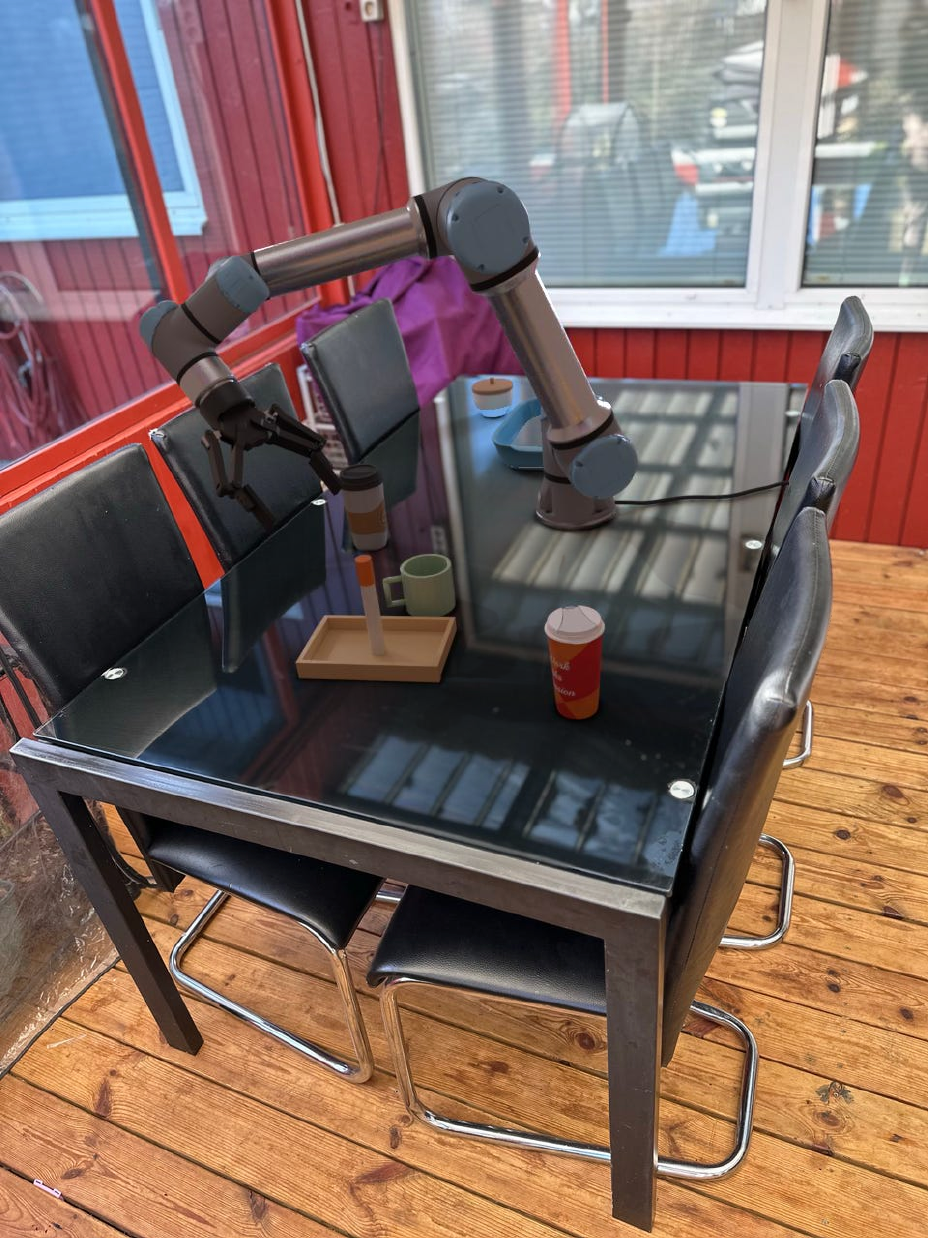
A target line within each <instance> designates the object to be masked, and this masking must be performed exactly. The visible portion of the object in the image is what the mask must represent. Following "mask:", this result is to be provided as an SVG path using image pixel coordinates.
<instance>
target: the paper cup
mask: <svg viewBox="0 0 928 1238" xmlns="http://www.w3.org/2000/svg"><path fill="white" fill-rule="evenodd" d="M605 630H606V625H605V622H604V620H603V619H602V616H601V614H600V613H599V612H598V611H597V610H596V609H595V608H592V607H589V606H586V605H577V606H574V605H573V606H565V608H562V607H559V608H557V609H555V610H553V611H552V612H551V613H550V614H549V615H548V617H547V621H546V623H545V625H544V632H545V634H546V635H547V640H548V641H547V643H548V650H549V657H550V666H551V674H552V675H551V676H552V682H553V690H554V691H553V692H554V699H555V704H556V709H557V711H558V713H559V714H560V715H562V716H563V717H565V718H566V719H571V720H582V719H588V718H591V717H592V716H593V715H595V714H596V713H597V711H598V709H599V700H600V686H601V685H600V684H601V668H602V665H601V664H602V648H603V647H602V646H603V645H602V643H603V634H604V632H605Z"/></svg>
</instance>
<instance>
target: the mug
mask: <svg viewBox="0 0 928 1238" xmlns="http://www.w3.org/2000/svg"><path fill="white" fill-rule="evenodd" d="M399 570H400V575H395V576H389V577H384V578H383V579H382V586H383V587H382V588H383V592H384V600H385V605H386V607H387V608H389V609H390V608H396V607H402V606H405V611H406V612H407V614H408V615H409V616H411V617H444V616H445V615H447V614H449V613H450V612H451V611H453V610H454V608H455V607H456V603H457V601H456V593H455V583H454V576H453V575H454V574H453V568H452V561H451V560H450V559H449V558H448V557H447V556H445V555H443V554H436V553H426V554H419V555H415V556H412V557H410V558H408V559H406V560H405V561H404V562H403V563H401V564H400V567H399ZM394 583H395V584H396V583H401V586H402V591H403V592H402V593H403V598H402V599H395V600H393V598H392V592H391V586H390V584H394Z"/></svg>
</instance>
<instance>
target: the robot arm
mask: <svg viewBox="0 0 928 1238" xmlns="http://www.w3.org/2000/svg"><path fill="white" fill-rule="evenodd" d="M448 256H453V258H454V259H455V261H456V263H457V265H458V267H459V269H460V271H461V273H462V275H463V277H464V278H465V281H466V283H467V285H468V287H469V289H470V290H471V292H472V294H476V295H478V296H482V297H484V298H486V300H487V302H488V303H489V306H490V308H491V309H492V312H493V314H494V316H495V318H496V319H497V322H498V323H499V326H500V327H501V329H502V331H503V333H504V336H505V337H506V339H507V341H508V343H509V345H510V347H511V349H512V350H513V353H514V355H515V357H516V359H517V361H518V363H519V365H520V367H521V370H522V371H523V373H524V375H525V377H526V379H527V381H528V382H529V385H530V386H531V388H532V390H533V392H534V395H535V397H537V399H538V400H539V402H540V404H541V417H540V421H541V432H542V451H543V468H544V471H543V480H542V484H541V487H540V490H539V491H538V494H537V501H536V506H535V513H536V519H537V521H538V522H540V523H541V524H542V525H544V526H545V527H549V528H552V529H556V530H564V531H580V530H581V531H582V530H589V529H593V528H597V527H600V526H603V525H605V524H607V523H608V522H610V521H611V520H612V519H614V517H615V515H616V506H617V505H618V506H619V505H621V506H622V505H623V506H624V505H628V506H632V505H633V506H648V505H649V506H650V505H658V504H665V503H670V502H675V501H686V500H688V501H689V500H726V499H735V498H739V497H743V496H746V495H751V494H753V493H757V492H762V491H767V490H768V491H769V490H771V489H774V488H778V487H781V486H789V480H782V481H781V480H780V481H777V482H773V483H771V484H768V485H762V486H757V487H753V488H750V489H746V490H742V491H738V492H734V493H728V494H690V495H689V494H687V495H686V494H685V495H677V496H669V497H664V498H658V499H651V500H623V499H621V500H615V498H614V496H617V495H618V494H620V493H621V492H623V491H625V489H626V488H627V487H628V486H629V485H630V484H631V483H632V481H633V479H634V477H635V475H636V473H637V470H638V466H639V465H638V464H639V458H638V452H637V450H636V448H635V445H634V444H633V442H631V440H630V439H629V438H627V437H626V436H625V435H624V433H623V431H622V429H621V428H622V427H620V424H619V422H618V420H617V418H616V416H615V413H614V411H613V410H612V407H611V405H610V403H609V402H607V401H606V402H604V401H605V399H604V397H602V395H598V394H595V392H594V390H593V388H592V385H591V384H590V382H589V380H588V378H587V375H586V374H585V371H584V369H583V367H582V364H581V363H580V360H579V358H578V356H577V353H576V352H575V350H574V347H573V345H572V342H571V341H570V339H569V336H568V335H567V332H566V330H565V328H564V326H563V323H562V322H561V319H560V318H559V315H558V313H557V310H556V309H555V307H554V304H553V303H552V300H551V298H550V296H549V293H548V292H547V290H546V287H545V286H544V283H543V281H542V278H541V276H540V274H539V272H538V270H537V267H538V263H539V260H540V257H541V253H540V249H539V248H538V245H537V243H536V241H535V238H534V236H533V235H532V232H531V221H530V217H529V212H528V210H527V208H526V206H525V204H524V202H523V200H522V199H521V198H520V196H519V195H518V194H517V193H516V192H515V191H513V190H512V189H511V188H510V187H508V186H507V185H505V184H503V183H501V182H498V181H495V180H488V179H486V178H482V177H479V176H466V177H461V178H457V179H455V180H453V181H450V182H447V183H446V184H444V185H442V186H439V187H436V188H434V189H431V190H428V191H426V192H423V193H420V194H416V195H413V196H410V197H409V199H408V201H407V203H406V205H405V206H401V207H398V208H395V209H391V210H387V211H383V212H381V213H378V214H374V215H371V216H367V217H364V218H361V219H357V220H354V221H351V222H348V223H344V224H340V225H337V226H334V227H330V228H327V229H323V230H320V231H317V232H313V233H310V234H306V235H303V236H300V237H297V238H293V239H289V240H286V241H283V242H280V243H276V244H273V245H270V246H266V247H262V248H259V249H255V250H254V251H250V252H246V253H243V254H239V255H226V256H222V257H220V258H217V260H215V261H214V262H213V263H211V264H210V266H209V268H208V270H207V272H206V276H205V279H204V282H202V284H201V285H200V286H199V287H198V288H197V289H196V290H195V291H194V292H193V293H192V294H191V295H190V296H189V297H188V298H186V300H184V301H183V302H182V303H181V304H179V303H177V302H175V301H174V300H163V301H159V302H157V303H156V304H155V305H154V306H151V307H149V308H148V309H147V310H146V311H145V312H144V314H143V315H142V316H141V317H140V320H139V322H138V333H139V336H140V337H141V339H142V340H143V342H144V343H145V344H146V346H147V348H148V349H149V350H150V352H151V355H152V356H153V357H154V358H155V359H156V360H158V362H159V364H161V366H162V367H163V368H164V370H165V371H166V372H167V373H168V374H169V376H170V377H171V378H172V379H173V380H174V382H175V383H176V385H177V386H178V387H179V388H180V390H181V391H182V392H183V394H184V395H185V396H186V397H187V398H188V400H189V401H190V403H192V405H193V406H194V407H195V409H197V410H199V414H200V415H201V417H202V418H203V419H204V421H205V422H206V423H207V424H208V426H209V427H210V428H211V429H212V430H211V429H208V428H207V429H206V430H205V431H204V433H203V435H202V437H201V440H200V445H201V446H202V447H203V449H204V451H205V452H206V454H207V458H208V463H209V467H210V472H211V477H212V480H213V486H214V489H215V493H216V494H215V495H216V496H217V498H224V497H225V496H227V498H228V499H230V500H236V501H237V503H238V504H239V505H240V507H241V508H242V509H243V510H244V511H245V512H246V513H247V514H249V513H252V515H253V516H254V517H255V518H256V520H257V522H259V524H260V525H261V526H262V527H263V530H265V531H266V532H268V531H269V530H271V529H272V527H273V526H274V524H275V522H276V521H277V518H276V517H275V516H274V514H273V513H272V511H270V510H269V508H268V507H267V505H266V504H265V503H264V501H263V500H262V499H261V498H260V496H259V495H258V494H257V493H256V492H255V490H254V489H253V488H252V486H251V485H250V484H249V483H247V484H245V485H243V475H244V474H243V473H244V454H245V452H247V453H248V452H249V451H252V450H253V449H255V448H259V447H261V446H263V445H265V444H266V445H268V446H272V445H274V446H276V447H279V448H281V449H284V450H287V451H289V452H292V453H294V454H296V455H299V456H302V457H305V458H307V459H309V461H308V462H307V463H308V465H309V466H310V468H311V469H312V470H313V471H314V473H315V474H316V475H317V477H319V479H320V481H321V482H322V483H323V484H324V486H325V487H326V488H327V490H329V491H330V493H331V494H332V495H333V496H334V497H335V496H337V495H339V493H341V489H342V487H343V486H344V484H343V483H342V481H341V480H340V479H339V476H338V475H337V474H336V472H335V471H334V470H333V469H334V466H333V463H332V462H331V461H330V460H329V458H328V457H327V456H326V455H325V453H324V452H323V450H324V448H325V446H326V444H327V443H328V440H327V438H326V437H324V436H323V435H321V434H319V433H318V432H316V431H315V430H313V429H311V428H310V427H309V426H307V425H305V424H304V423H302V422H301V421H299V420H298V419H295V418H294V417H293V416H291V415H289V414H287V413H286V412H285V411H284V410H283V409H282V408H281V406H280V405H278V403H274V402H273V403H271V404H270V407H269V408H268V409H266V410H264V411H262V410H260V409H259V408H258V407H257V405H256V403H255V401H254V398H253V397H252V395H251V394H250V393H249V391H248V390H247V389H246V388H245V387H244V385H243V384H242V383H241V382H239V381H238V377H237V376H236V374H234V372H233V371H232V370H231V369H230V367H229V366H228V364H226V362H225V361H224V360H223V358H222V357H220V355H219V354H218V353H217V351H216V348H217V347H219V345H222V343H223V342H224V340H226V339H227V338H228V337H229V336H230V335H231V334H232V333H233V332H234V331H235V330H237V328H239V326H241V325H242V324H243V323H244V322H245V321H247V319H249V317H251V315H253V314H254V313H255V314H256V313H257V312H258V311H259V309H260V307H261V306H262V305H263V303H264V302H267V301H270V300H273V299H276V298H280V297H284V296H287V295H290V294H293V293H297V292H301V291H304V290H307V289H310V288H314V287H317V286H321V285H324V284H327V283H331V282H335V281H338V280H341V279H344V278H348V277H352V276H354V275H358V274H362V273H365V272H369V271H372V270H374V269H375V270H376V269H380V268H382V267H385V266H389V265H392V264H393V265H394V264H396V263H399V262H403V261H406V260H410V259H413V258H416V257H421V258H422V259H424V260H426V261H431V260H433V259H436V258H441V257H448ZM269 433H270V434H269ZM221 442H223V443H225V444H227V445H229V446H230V451H229V457H230V465H229V477H228V473H227V469H226V464H225V460H224V456H223V451H222V447H221V444H220V443H221Z"/></svg>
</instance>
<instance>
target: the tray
mask: <svg viewBox="0 0 928 1238" xmlns="http://www.w3.org/2000/svg"><path fill="white" fill-rule="evenodd" d="M380 617H381V623H382V629H383V635H384V641H385V647H386V652H385V653H384V654H382V655H373V654H372V651H371V646H370V640H369V634H368V629H367V623H366V617H365V615H341V614H339V615H334V614H333V615H331V614H330V615H329V614H328V615H327V614H326V615H324V614H323V617H322V618H321V620H320V621H319V623H318V625H317V626H316V628H315V630H314V631H313V633H312V635H311V636H310V637H309V640H308V641H307V643H306V645H305V646H304V648H303V650H302V651H301V653H300V655H299V656H298V657H297V659H296V660H295V667H296V671H297V675H298V679H315V680H316V679H319V680H348V681H349V680H351V681H381V682H382V681H383V682H386V681H387V682H414V683H416V682H417V683H418V682H419V683H440V682H441V679H442V672H443V670H444V667H445V664H446V661H447V658H448V655H449V653H450V650H451V647H452V645H453V641H454V639H455V636H456V633H457V628H458V627H457V619H456V616H440V617H414V616H400V615H399V616H397V615H380Z"/></svg>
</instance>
